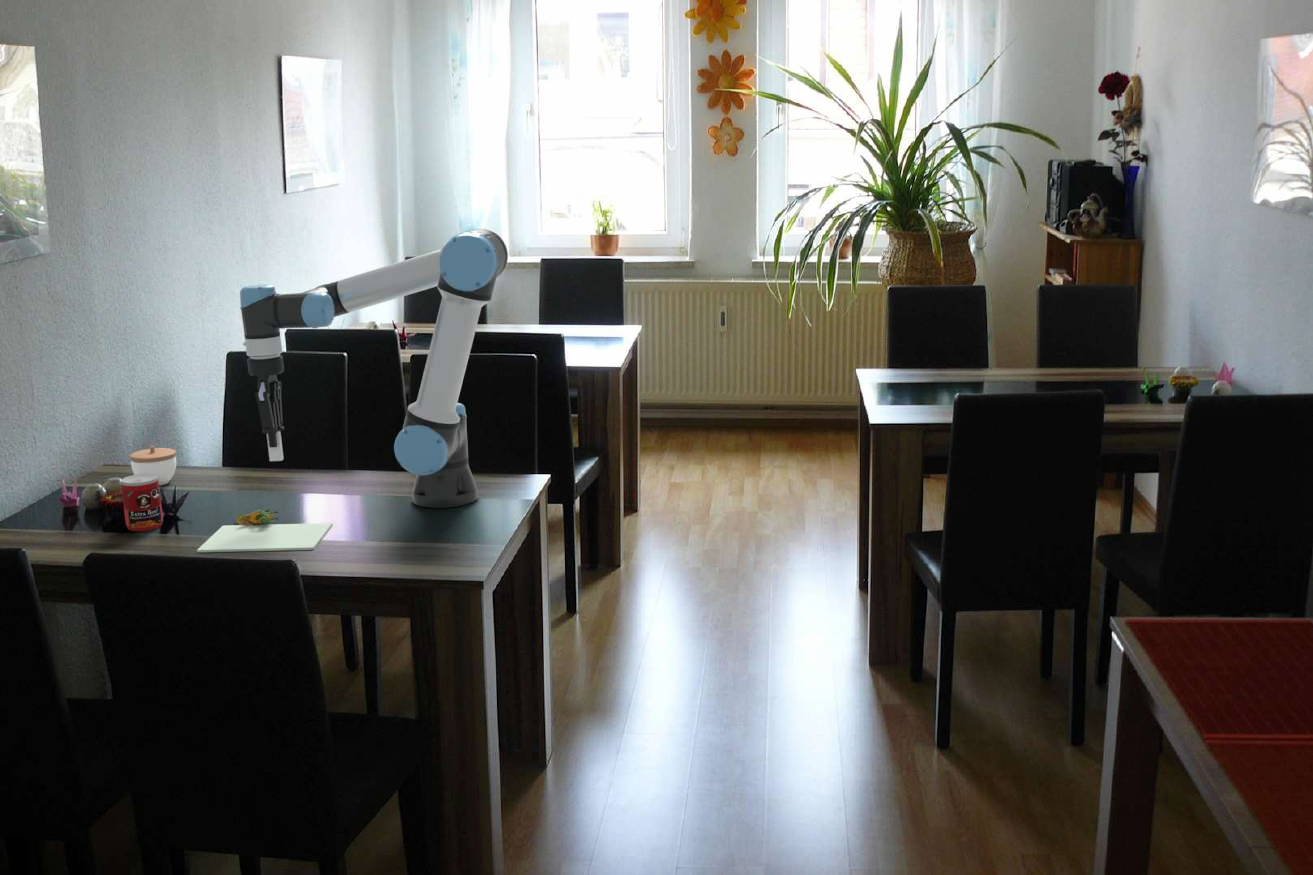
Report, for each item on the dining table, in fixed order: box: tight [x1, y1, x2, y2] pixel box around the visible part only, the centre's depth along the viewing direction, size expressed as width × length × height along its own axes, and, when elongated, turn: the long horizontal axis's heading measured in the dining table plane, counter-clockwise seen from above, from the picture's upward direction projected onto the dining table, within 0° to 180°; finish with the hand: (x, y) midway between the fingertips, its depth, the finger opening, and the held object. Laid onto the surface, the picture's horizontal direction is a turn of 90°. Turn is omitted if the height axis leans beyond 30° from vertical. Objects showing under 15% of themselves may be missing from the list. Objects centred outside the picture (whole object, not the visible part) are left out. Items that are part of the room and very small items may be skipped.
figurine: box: [235, 508, 280, 526], centre depth 282 cm, size 3×12×8 cm
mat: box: [196, 522, 334, 553], centre depth 273 cm, size 24×17×1 cm
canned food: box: [120, 474, 164, 532], centre depth 282 cm, size 8×8×11 cm
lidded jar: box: [129, 445, 177, 487], centre depth 318 cm, size 11×11×9 cm
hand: (276, 460), depth 287 cm, fingers closed
